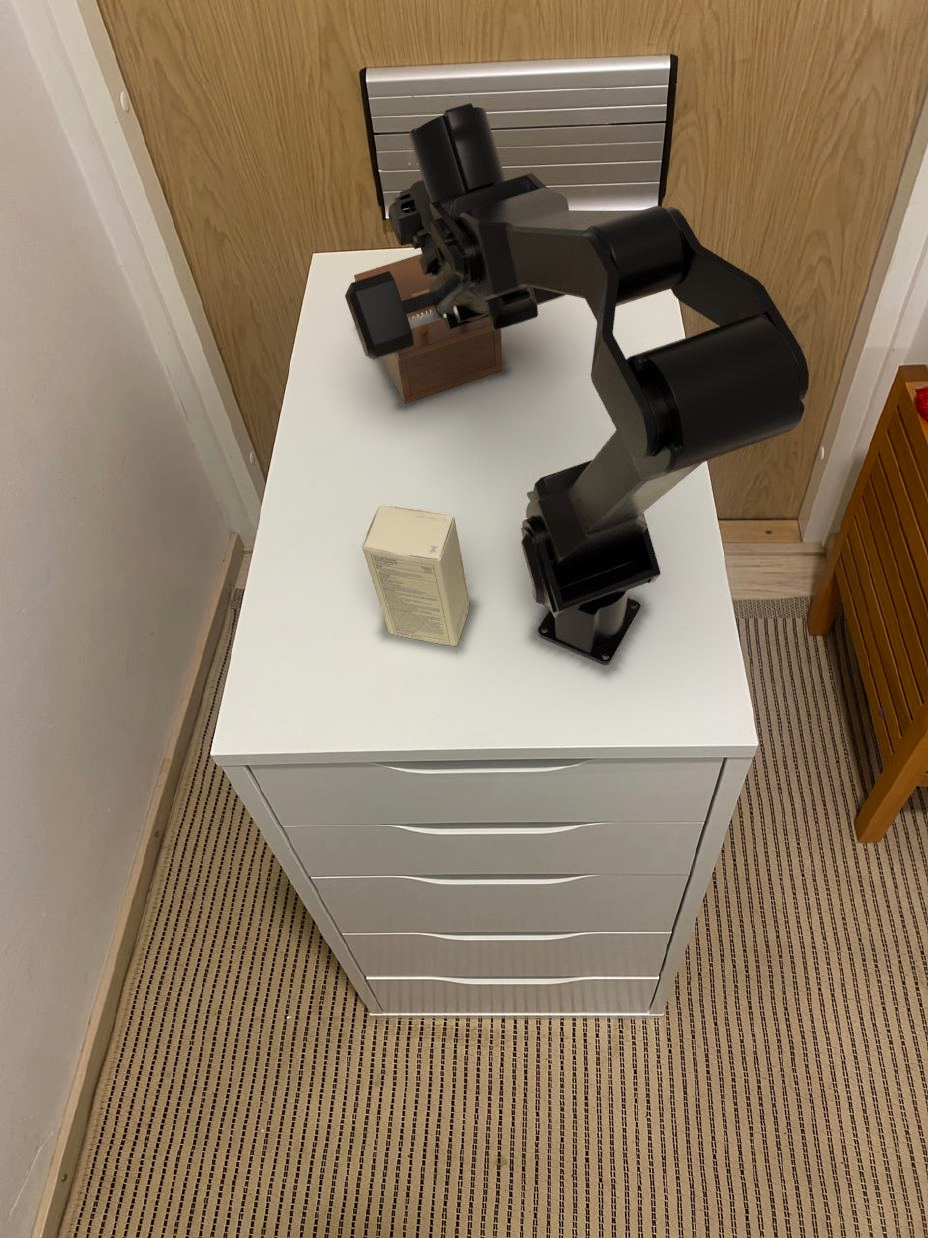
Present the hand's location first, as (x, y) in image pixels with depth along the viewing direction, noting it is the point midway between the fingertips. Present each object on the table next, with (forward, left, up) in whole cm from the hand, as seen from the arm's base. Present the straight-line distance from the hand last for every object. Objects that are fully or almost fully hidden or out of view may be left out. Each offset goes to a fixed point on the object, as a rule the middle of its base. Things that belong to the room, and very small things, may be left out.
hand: (441, 306), depth 88 cm
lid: (+3, +4, -3) cm, 6 cm away
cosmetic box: (-26, -13, -9) cm, 30 cm away
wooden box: (+3, +4, -9) cm, 10 cm away
